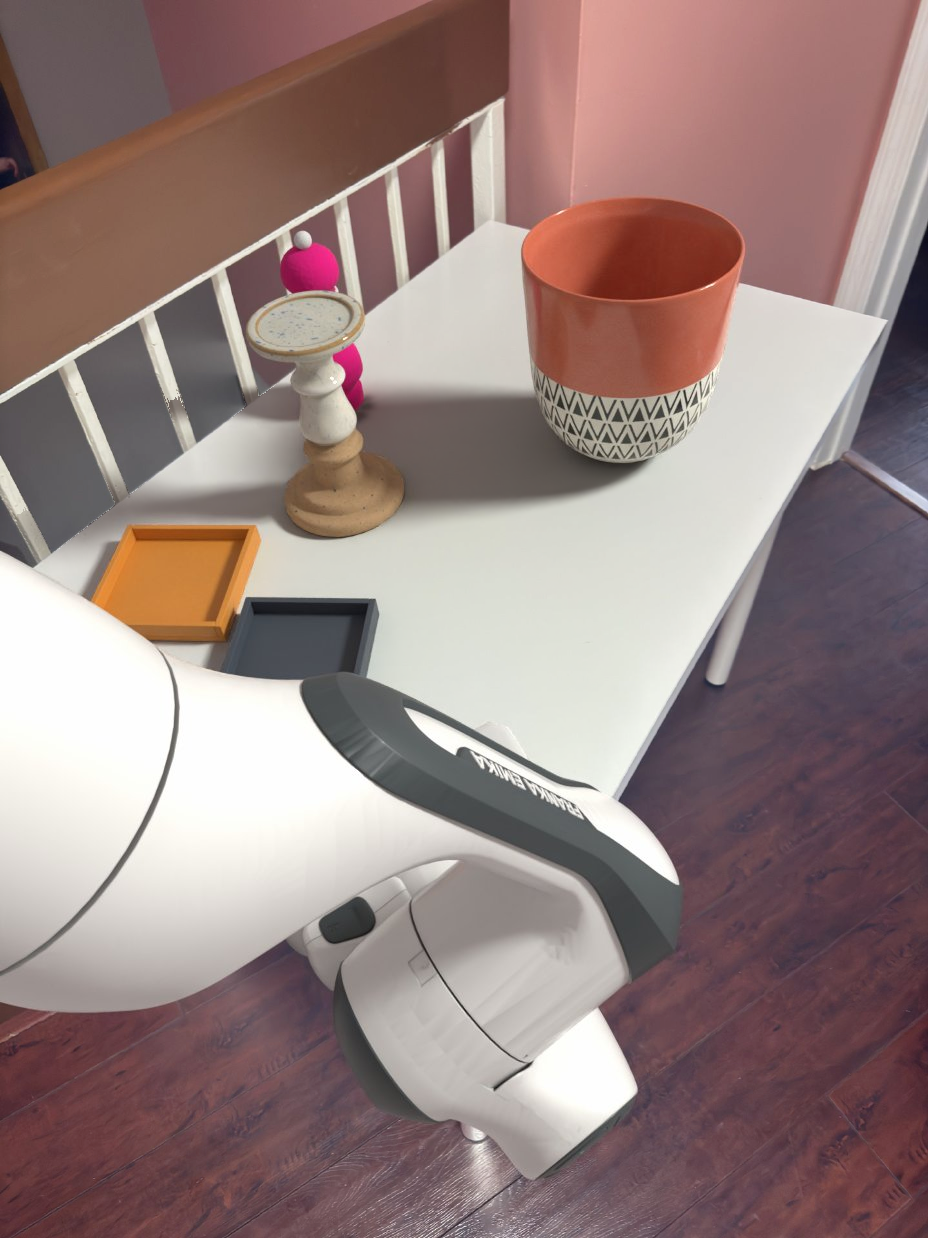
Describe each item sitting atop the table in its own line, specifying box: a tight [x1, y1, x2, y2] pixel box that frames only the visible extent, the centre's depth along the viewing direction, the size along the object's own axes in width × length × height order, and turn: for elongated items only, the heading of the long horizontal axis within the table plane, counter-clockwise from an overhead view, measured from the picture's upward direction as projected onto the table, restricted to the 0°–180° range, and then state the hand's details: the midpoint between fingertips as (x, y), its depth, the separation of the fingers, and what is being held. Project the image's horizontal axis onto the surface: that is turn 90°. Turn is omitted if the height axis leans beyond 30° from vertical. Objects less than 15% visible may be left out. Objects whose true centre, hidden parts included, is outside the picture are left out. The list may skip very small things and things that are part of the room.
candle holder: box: [245, 290, 405, 538], centre depth 86 cm, size 12×12×20 cm
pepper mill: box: [279, 230, 365, 412], centre depth 98 cm, size 7×7×20 cm
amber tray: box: [89, 524, 262, 642], centre depth 86 cm, size 13×13×2 cm
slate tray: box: [220, 596, 380, 680], centre depth 78 cm, size 12×12×2 cm
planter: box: [520, 196, 746, 464], centre depth 88 cm, size 20×20×21 cm
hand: (348, 747), depth 66 cm, fingers closed on pill bottle, 6 cm apart
